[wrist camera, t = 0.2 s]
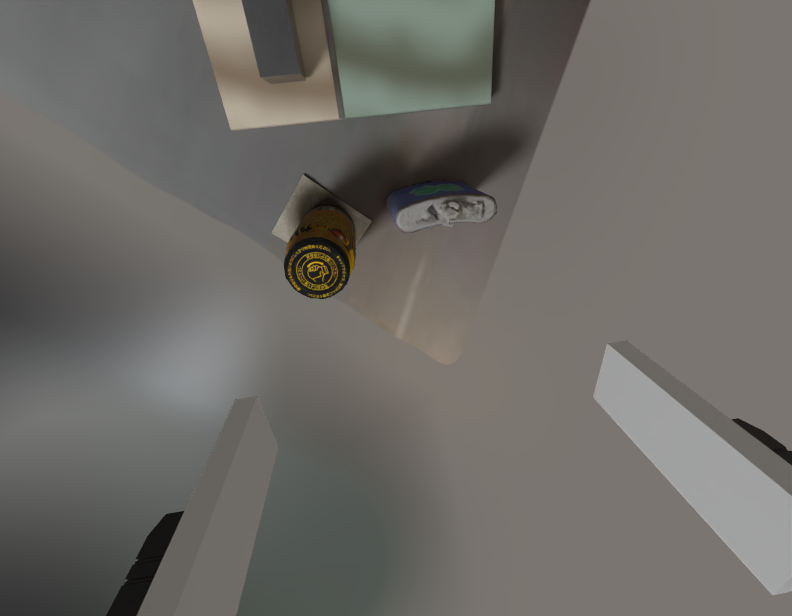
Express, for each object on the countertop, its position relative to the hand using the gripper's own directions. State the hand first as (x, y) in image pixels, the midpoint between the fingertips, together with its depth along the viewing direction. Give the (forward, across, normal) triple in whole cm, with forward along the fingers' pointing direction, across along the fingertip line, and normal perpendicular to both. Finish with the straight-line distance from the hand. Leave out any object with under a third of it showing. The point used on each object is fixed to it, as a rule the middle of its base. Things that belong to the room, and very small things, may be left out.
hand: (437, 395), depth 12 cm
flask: (+28, +5, +2) cm, 28 cm away
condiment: (+28, -7, 0) cm, 29 cm away
